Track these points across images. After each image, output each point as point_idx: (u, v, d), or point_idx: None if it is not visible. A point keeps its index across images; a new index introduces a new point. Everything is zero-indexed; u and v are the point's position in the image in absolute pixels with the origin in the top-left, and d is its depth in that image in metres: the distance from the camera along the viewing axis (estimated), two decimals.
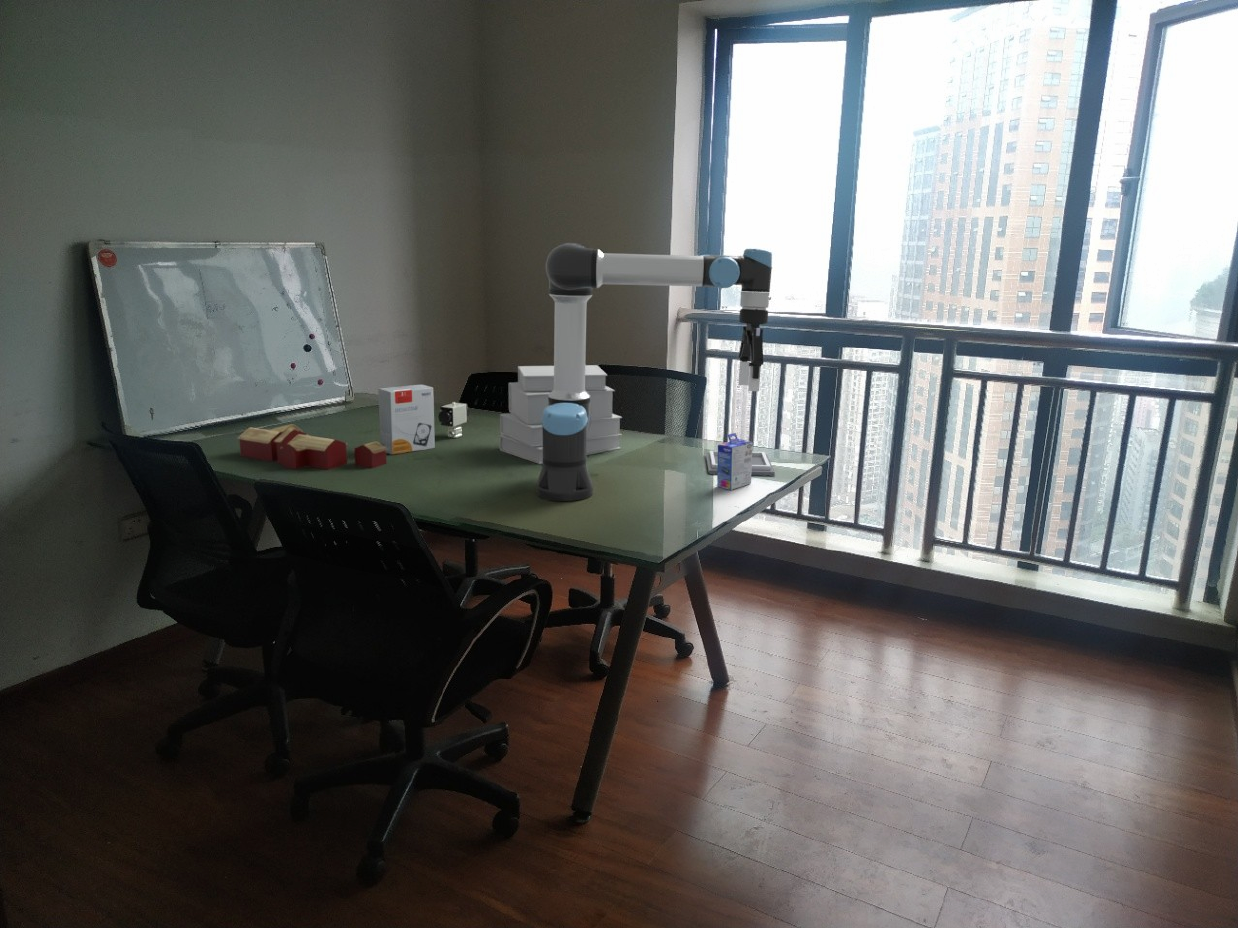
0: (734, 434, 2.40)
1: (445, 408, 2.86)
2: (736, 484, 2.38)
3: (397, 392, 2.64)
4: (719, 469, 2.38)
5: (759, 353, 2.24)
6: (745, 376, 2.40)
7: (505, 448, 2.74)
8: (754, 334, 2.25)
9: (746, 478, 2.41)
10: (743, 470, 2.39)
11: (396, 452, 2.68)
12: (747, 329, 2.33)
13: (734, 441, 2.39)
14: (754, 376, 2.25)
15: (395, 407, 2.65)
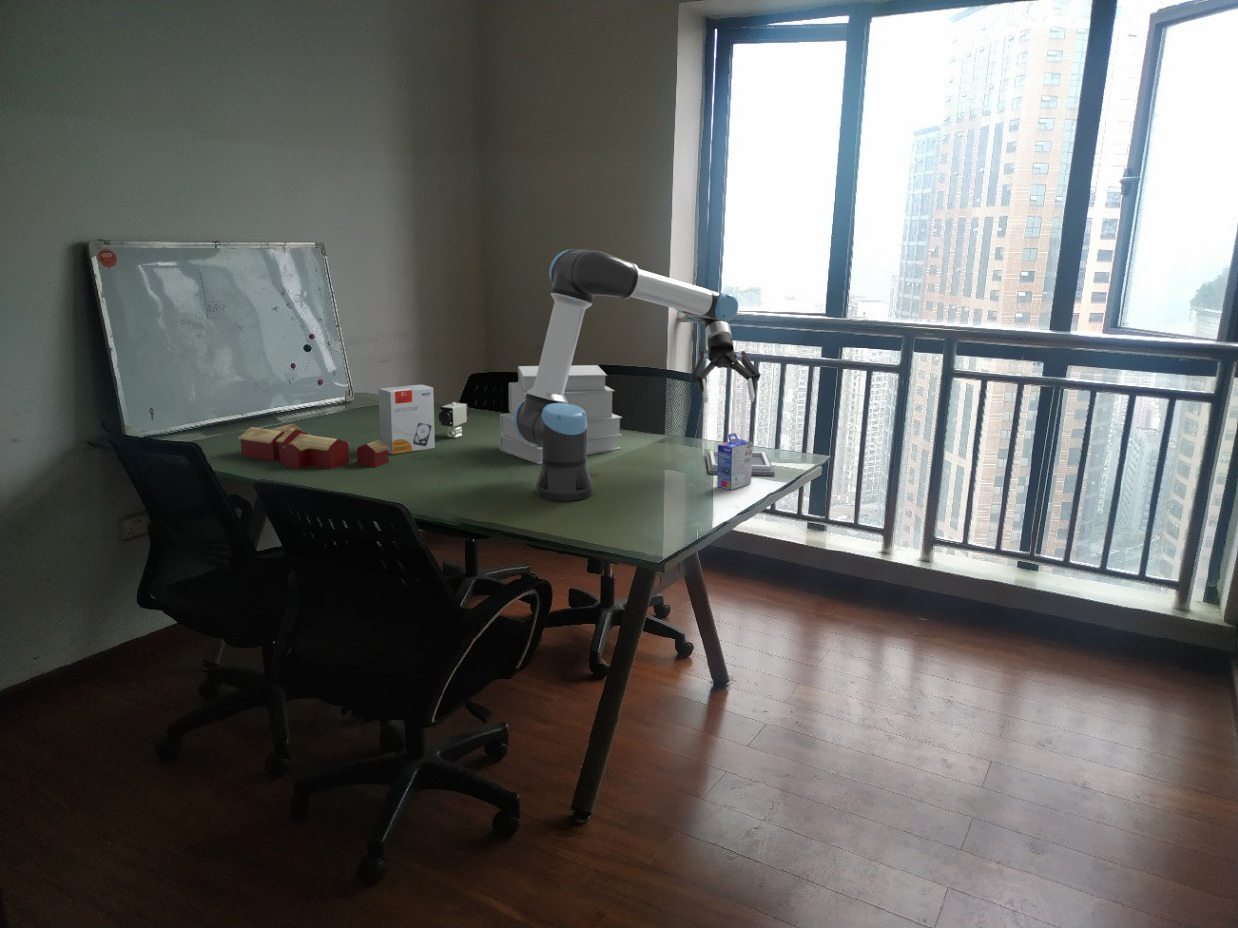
0: (734, 434, 2.40)
1: (445, 408, 2.86)
2: (736, 484, 2.38)
3: (397, 392, 2.64)
4: (719, 469, 2.38)
5: None
6: None
7: (505, 448, 2.74)
8: None
9: (746, 478, 2.41)
10: (743, 470, 2.39)
11: (396, 452, 2.68)
12: None
13: (734, 441, 2.39)
14: None
15: (395, 407, 2.65)
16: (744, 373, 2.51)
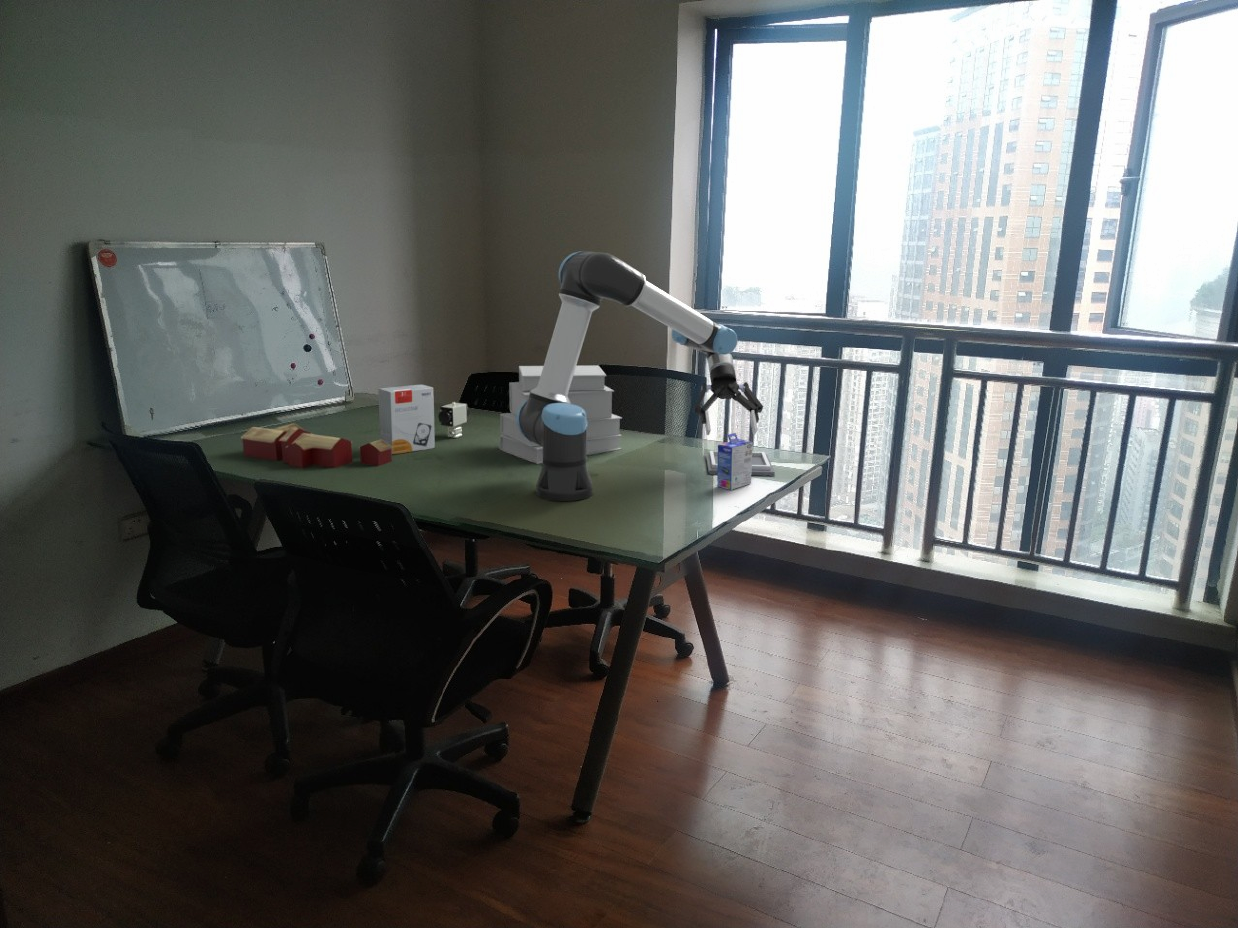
0: (734, 434, 2.40)
1: (445, 408, 2.86)
2: (736, 484, 2.38)
3: (397, 392, 2.64)
4: (719, 469, 2.38)
5: None
6: None
7: (505, 448, 2.75)
8: None
9: (746, 478, 2.41)
10: (743, 470, 2.39)
11: (396, 452, 2.68)
12: None
13: (734, 441, 2.39)
14: None
15: (395, 407, 2.65)
16: (747, 405, 2.50)
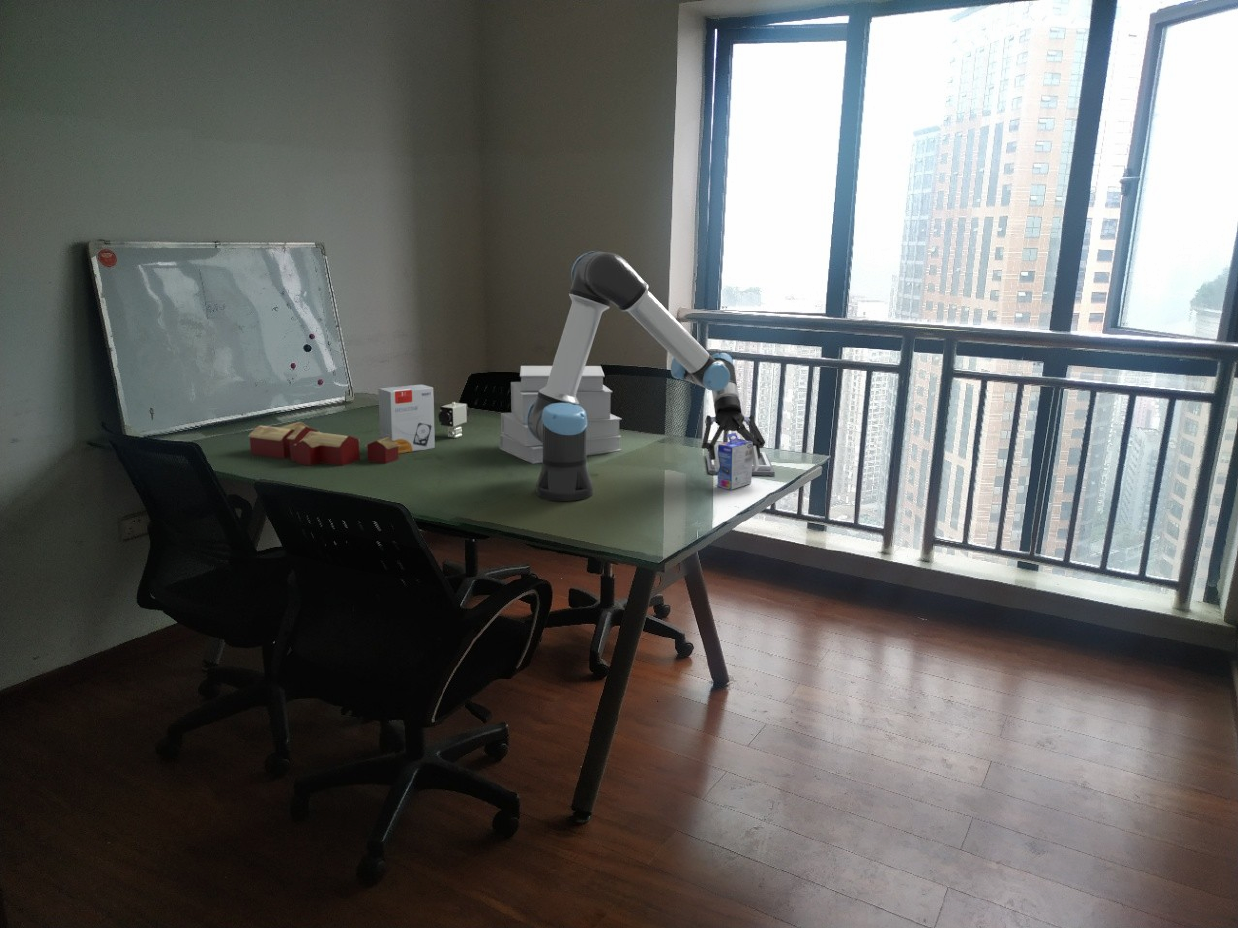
0: (734, 434, 2.40)
1: (445, 408, 2.86)
2: (736, 484, 2.38)
3: (397, 392, 2.64)
4: (719, 469, 2.38)
5: None
6: None
7: (505, 447, 2.75)
8: None
9: (746, 478, 2.41)
10: (743, 470, 2.39)
11: None
12: (724, 415, 2.45)
13: (734, 441, 2.39)
14: None
15: (395, 407, 2.65)
16: (749, 439, 2.42)
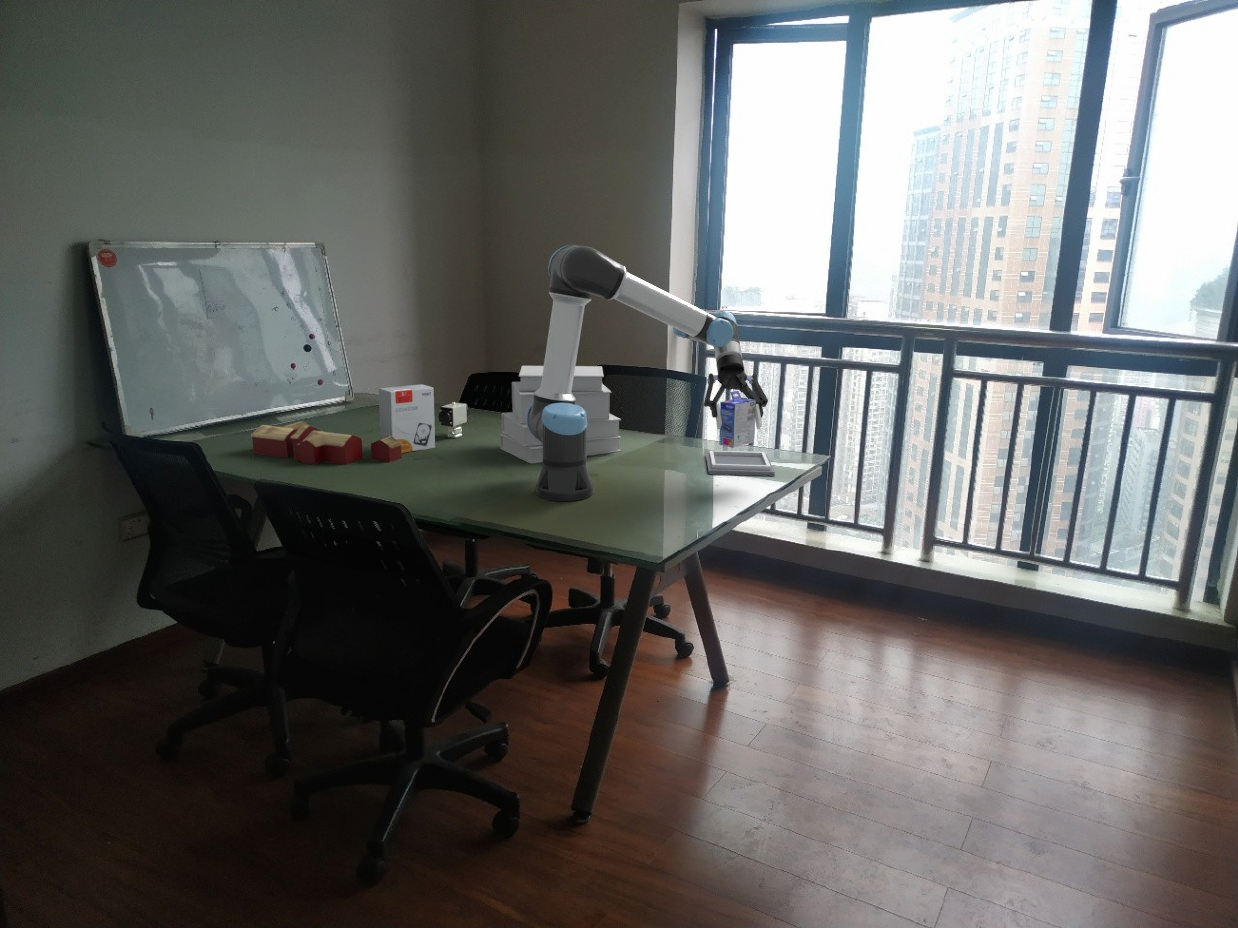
0: (737, 392, 2.37)
1: (445, 408, 2.86)
2: (738, 442, 2.35)
3: (397, 392, 2.64)
4: (721, 427, 2.35)
5: None
6: None
7: (505, 447, 2.76)
8: None
9: (748, 436, 2.38)
10: (745, 428, 2.36)
11: None
12: (727, 373, 2.42)
13: (737, 399, 2.36)
14: None
15: (395, 407, 2.65)
16: (752, 397, 2.39)
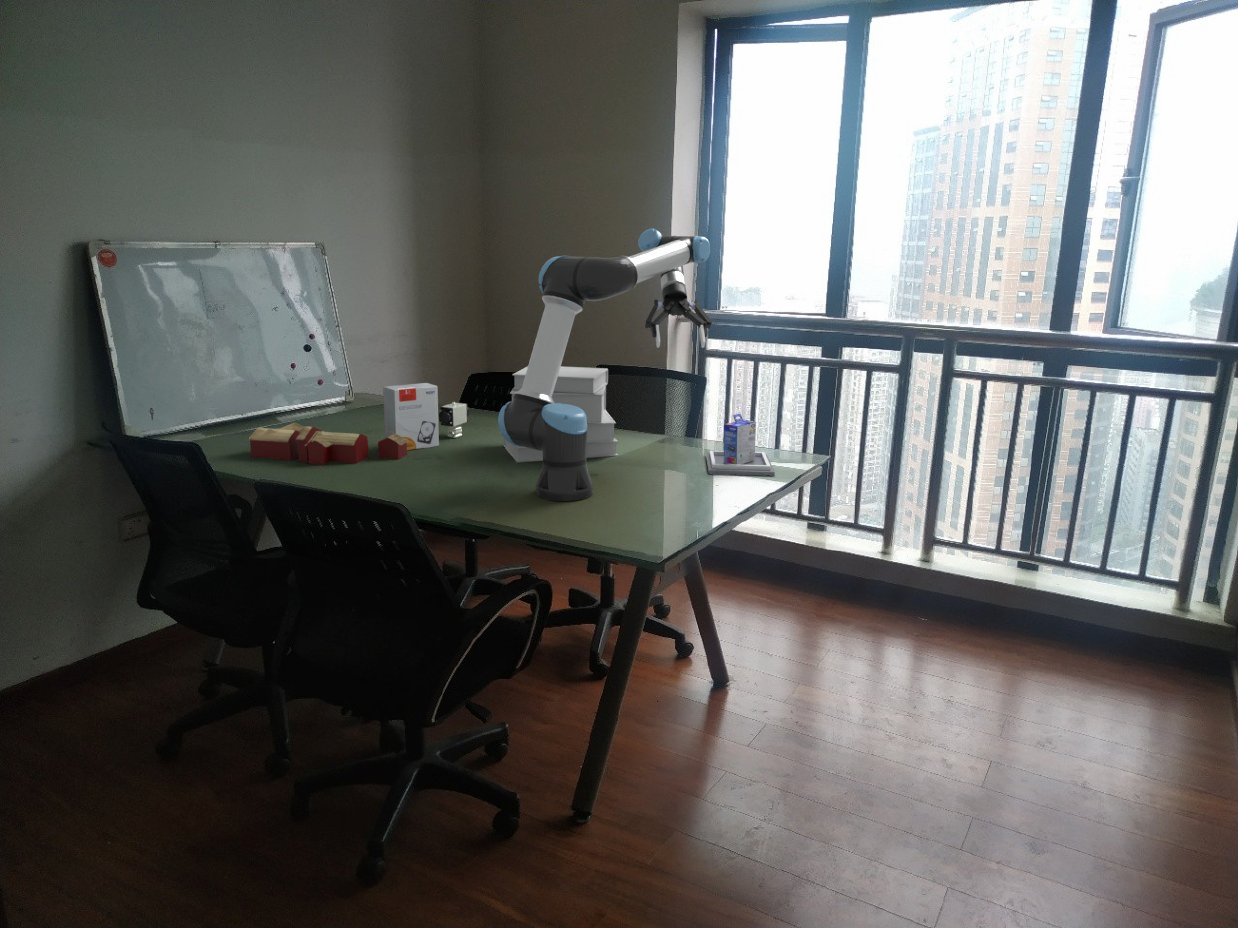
0: (739, 415, 2.59)
1: (445, 408, 2.86)
2: (741, 461, 2.58)
3: (401, 390, 2.67)
4: (725, 447, 2.58)
5: None
6: None
7: (506, 444, 2.79)
8: None
9: (750, 455, 2.61)
10: (747, 447, 2.59)
11: None
12: None
13: (739, 421, 2.58)
14: None
15: (399, 405, 2.68)
16: (696, 320, 2.62)
